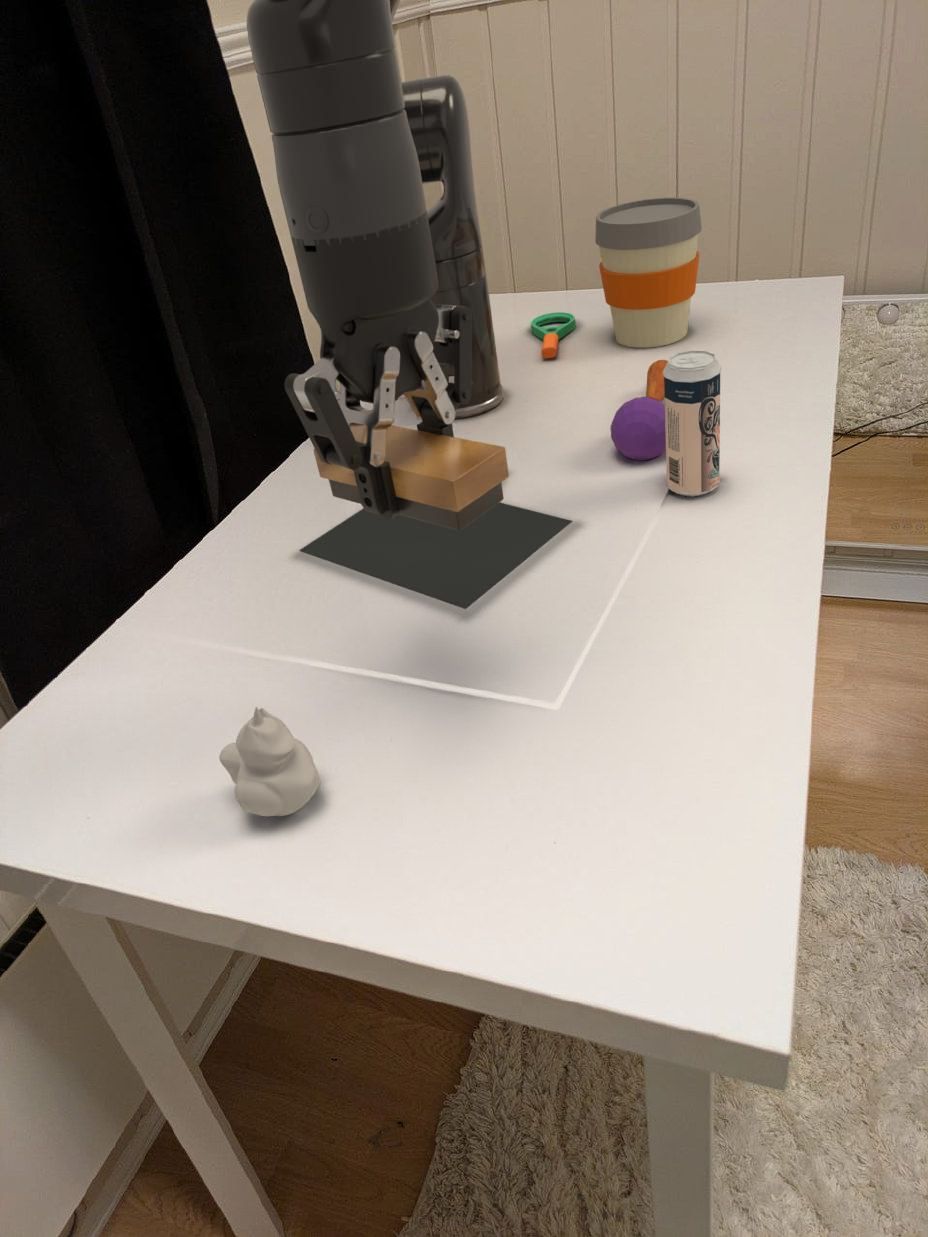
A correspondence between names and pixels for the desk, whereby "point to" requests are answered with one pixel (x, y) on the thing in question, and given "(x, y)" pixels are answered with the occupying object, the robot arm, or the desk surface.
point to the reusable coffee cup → (649, 268)
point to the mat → (438, 550)
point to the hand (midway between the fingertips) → (413, 494)
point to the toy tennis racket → (552, 330)
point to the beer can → (692, 422)
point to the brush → (433, 476)
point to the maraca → (643, 420)
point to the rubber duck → (270, 767)
